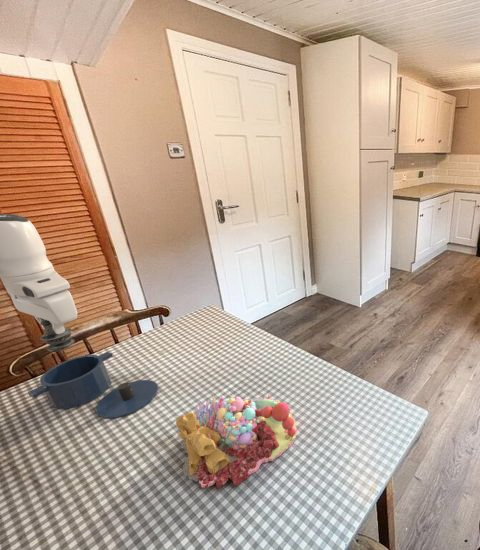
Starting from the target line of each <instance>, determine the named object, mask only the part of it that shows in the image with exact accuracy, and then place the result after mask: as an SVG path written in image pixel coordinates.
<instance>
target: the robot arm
mask: <svg viewBox="0 0 480 550" xmlns="http://www.w3.org/2000/svg"><path fill="white" fill-rule="evenodd" d="M53 265H54V264H52V262H51V261H50V260H49V259H48V257H47V248H46V246H45V243H44V241H43V240H42V238H41V236H40V234H39V232H38V230H37V228H36V227H35V226H34V224H33V223H32V222H31V221H30V219H28V218H27V217H25V216H22V215H18V214H11V213H0V281H1V282H2V284H3V287H4V288H5V290H6V292H7V294H8V295H9V296H10V298H11V301H12V304H13V306H14V307H15V309H16V310H17V311H18V312H21V313H24V314H27V315H30V316H32V317H34V319H35V320H36V322H37V323H39V324H40V323H41V322H42V321H41V319H40V318H42V319H45V320H48V321H50V323H52V330H53V332H54V333H56V334H60V333H63V332H65V328H66V327H65V326H64V325H65V324H67V323H70V322H72V321H75V320H76V319H77V318H78V316H79V315H78V309H77V306H76V303H75V301H74V298H73V295H72V294H71V292H70V289H71V285H70V282H69V281H68V280H67V279H66V278H64V277H62V276H61V275H60V274H59V273H58V272H57V271H56V270H55V268H54V266H53ZM40 326H41V329H42V330H44V331H45V328H44V326H43V325H41V324H40Z"/></svg>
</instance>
